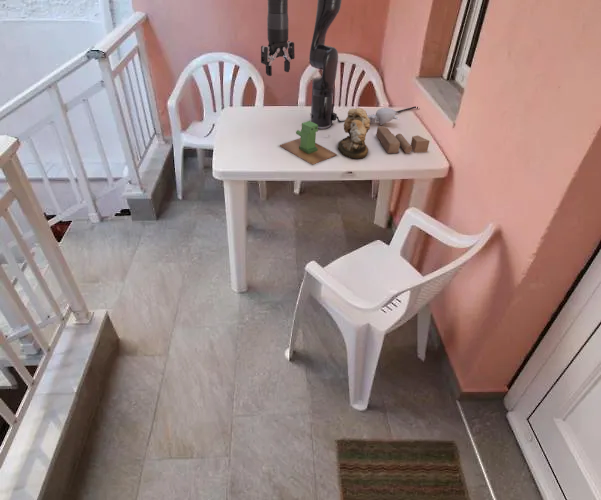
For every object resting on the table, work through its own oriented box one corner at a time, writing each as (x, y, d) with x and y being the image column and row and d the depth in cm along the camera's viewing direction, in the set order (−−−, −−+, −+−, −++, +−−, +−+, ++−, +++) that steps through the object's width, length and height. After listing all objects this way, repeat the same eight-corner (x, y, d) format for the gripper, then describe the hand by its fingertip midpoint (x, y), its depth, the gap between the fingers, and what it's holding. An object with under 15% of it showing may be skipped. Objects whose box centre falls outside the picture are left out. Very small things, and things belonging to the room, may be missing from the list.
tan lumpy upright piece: (333, 140, 175) (336, 100, 164) (359, 139, 177) (364, 99, 166) (344, 160, 162) (348, 117, 151) (373, 158, 163) (379, 116, 153)
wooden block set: (390, 141, 163) (377, 123, 176) (388, 155, 166) (375, 136, 180) (431, 139, 165) (414, 122, 179) (428, 153, 169) (412, 134, 182)
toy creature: (358, 109, 195) (402, 107, 191) (358, 125, 198) (401, 123, 193) (355, 109, 184) (402, 107, 179) (355, 126, 186) (401, 124, 181)
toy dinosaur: (291, 132, 167) (305, 119, 157) (300, 129, 169) (315, 116, 159) (303, 158, 167) (318, 146, 157) (312, 154, 170) (327, 142, 160)
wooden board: (304, 138, 176) (304, 136, 176) (336, 155, 165) (336, 154, 164) (280, 146, 170) (280, 144, 169) (312, 164, 158) (312, 163, 158)
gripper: (268, 30, 142) (269, 79, 152) (299, 25, 149) (298, 72, 159) (255, 26, 146) (257, 74, 156) (286, 22, 153) (286, 68, 164)
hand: (278, 73), depth 158 cm, fingers open, 8 cm apart
